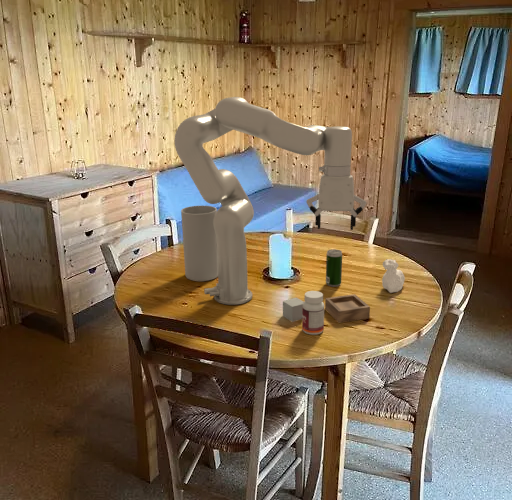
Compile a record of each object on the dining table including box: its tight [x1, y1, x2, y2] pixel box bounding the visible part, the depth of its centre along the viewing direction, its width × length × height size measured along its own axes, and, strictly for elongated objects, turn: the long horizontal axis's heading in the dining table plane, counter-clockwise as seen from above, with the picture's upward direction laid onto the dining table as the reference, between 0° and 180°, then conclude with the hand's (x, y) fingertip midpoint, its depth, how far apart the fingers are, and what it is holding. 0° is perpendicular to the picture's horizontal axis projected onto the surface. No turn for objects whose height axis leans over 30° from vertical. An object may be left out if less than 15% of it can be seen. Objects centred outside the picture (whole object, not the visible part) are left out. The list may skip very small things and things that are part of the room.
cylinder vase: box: [180, 205, 218, 282], centre depth 188 cm, size 12×12×25 cm
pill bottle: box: [301, 290, 325, 336], centre depth 148 cm, size 6×6×11 cm
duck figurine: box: [381, 258, 406, 294], centre depth 177 cm, size 12×8×11 cm
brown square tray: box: [324, 293, 371, 324], centre depth 159 cm, size 10×10×4 cm
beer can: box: [325, 248, 343, 288], centre depth 181 cm, size 5×5×12 cm
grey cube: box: [282, 297, 304, 323], centre depth 158 cm, size 5×5×5 cm
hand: (335, 228), depth 155 cm, fingers open, 9 cm apart
